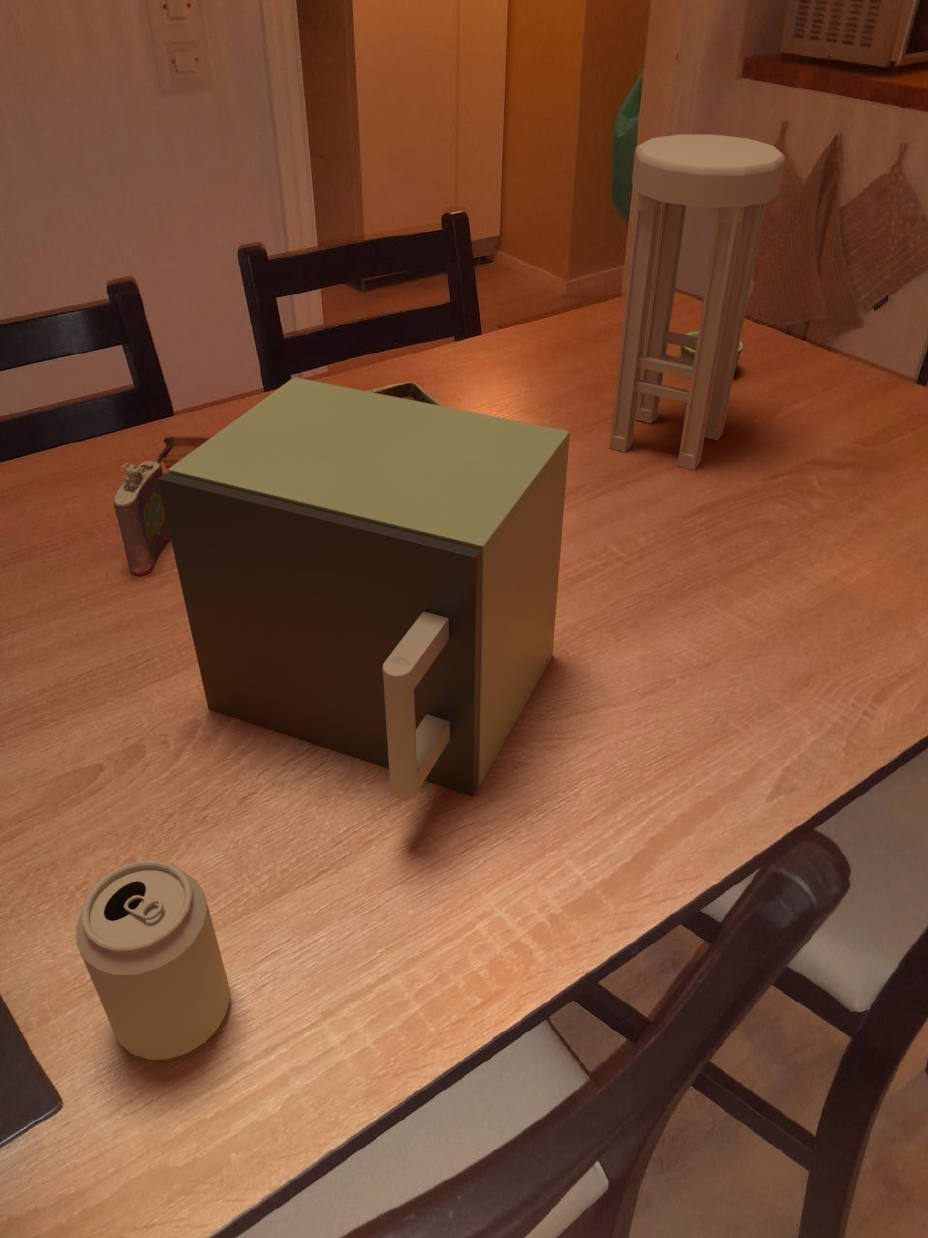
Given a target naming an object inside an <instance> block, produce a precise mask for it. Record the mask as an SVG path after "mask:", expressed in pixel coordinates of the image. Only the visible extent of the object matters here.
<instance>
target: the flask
mask: <svg viewBox="0 0 928 1238" xmlns="http://www.w3.org/2000/svg"><path fill="white" fill-rule="evenodd" d="M124 469H125V472H126V475H125V476H124V479H123V481H122V482H121V484H120V486H119V488H117V491H116V494H115V495H114V498H113V502H112V503H113V507H114V511H115V515H116V519H117V522H118V526H119V531H120V535H121V538H122V542H123V546H124V551H125V557H126V560H127V564H128V568H129V571H130V573H131V574H132V575H133V576H139V577H140V576H146V575H148V574H149V573H150V572H152V571H153V569H154V568H155V566H156V563H157V561H158V560H159V557H160V555H161V554H162V552H163V550H164V549H165V547H166V546H167V545H168V543H169V542H171V538H170V533H169V529H168V524H167V519H166V515H165V510H164V506H163V501H162V497H161V492H160V488H159V483H158V478H159V477H161V476H162V475H163V474H164V472H163V468H162V464H161V462H160V463H158V461H157V460H156V461H155V460H147V461H144V462H142V463H140V464H139V465H138V466H136V465H135V464H134V463H131V464H129V463H128V462H126V463H124V464H123V465H121V466H120V472H121V473H123V470H124Z"/></svg>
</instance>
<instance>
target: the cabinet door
mask: <svg viewBox="0 0 928 1238" xmlns="http://www.w3.org/2000/svg"><path fill="white" fill-rule="evenodd" d="M158 483H159V488H160V492H161V497H162V501H163V506H164V510H165V515H166V519H167V524H168V529H169V533H170V538H171V541H170V542H171V546H172V550H173V551H172V552H173V555H174V560H175V565H176V569H177V573H178V578H179V584H180V586H181V591H182V596H183V600H184V605H185V609H186V615H187V618H188V623H189V627H190V632H191V633H190V634H191V636H192V642H193V646H194V651H195V655H196V661H197V664H198V668H199V673H200V677H201V683H202V687H203V692H204V696H205V700H206V701H205V702H206V705H207V709H209V710H211V711H215V712H218V713H220V714H224V715H227V716H229V717H233V718H237V719H239V720H241V721H245V722H247V723H250V724H254V725H256V726H260V727H262V728H265V729H269V730H272V731H275V732H278V733H280V734H284V735H287V736H290V737H293V738H296V739H299V740H302V741H305V742H308V743H311V744H314V745H317V746H319V747H323V748H326V749H330V750H332V751H335V752H339V753H340V754H345V755H347V756H350V757H354V758H356V759H360V760H363V761H365V762H368V763H371V764H374V765H377V766H381V767H383V768H387V769H388V770H389V784H390V786H389V787H390V793H391V794H392V796H393V797H395V798H396V799H398V800H409V799H412V798H414V797H415V796H416V795H417V793H418V792H419V790H420V788H421V787H422V785H423V783H424V782H429V783H432V784H434V785H437V786H440V787H444V788H447V789H449V790H453V791H456V792H458V793H462V794H464V795H468V796H470V797H474V796H475V795H476V792H477V790H478V789H479V786H478V755H479V695H480V635H481V575H482V550H480V549H476V548H472V547H468V546H463V545H459V544H455V543H451V542H447V541H443V540H439V539H435V538H431V537H427V536H422V535H418V534H414V533H410V532H406V531H402V530H398V529H394V528H390V527H386V526H382V525H377V524H373V523H369V522H365V521H361V520H357V519H353V518H349V517H345V516H341V515H337V514H332V513H328V512H324V511H320V510H316V509H312V508H308V507H304V506H300V505H296V504H292V503H287V502H283V501H279V500H275V499H271V498H267V497H263V496H259V495H255V494H251V493H247V492H242V491H238V490H234V489H230V488H226V487H222V486H218V485H214V484H210V483H206V482H202V481H197V480H193V479H189V478H185V477H181V476H177V475H173V474H169V472H165V473H163V475H162V476H161V477H159V478H158Z"/></svg>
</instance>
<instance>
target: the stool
mask: <svg viewBox="0 0 928 1238" xmlns="http://www.w3.org/2000/svg"><path fill="white" fill-rule="evenodd" d="M785 164H786V157H785V155H784V154H783V153H782V152H781V151H780V150H779V149H777V147H776V146H774V145H772V144H769V143H766V142H762V141H758V140H754V139H751V138H748V137H747V138H745V137H739V136H731V135H729V136H728V135H723V134H722V135H720V134H687V133H685V134H683V133H682V134H680V133H679V134H673V135H666V136H658V137H652V138H650V139H648V140H646V141H645V142H643V143H640V144H639V145H638V146H637V147H636V148H635V150H634V157H633V166H632V167H633V168H632V176H631V184H632V185H633V188H634V190H635V192H636V199H635V200H636V201H635V207H634V208H635V209H634V217H633V227H632V236H631V245H630V254H629V264H628V272H627V282H626V291H625V300H624V309H623V318H622V326H621V327H622V328H621V337H620V346H619V357H618V365H617V373H616V382H615V383H616V385H615V391H614V392H615V393H614V401H613V411H612V421H611V429H610V439H609V449H611V450H615V451H618V450H619V452H622V453H627V451H628V450H629V449H630V448H631V447H632V446H631V445H633V440H634V432H635V424H636V420H639V421H638V422H640V421H644V422H647V423H646V424H648V423H650V424H649V425H652V424H653V423H654V422H655V421H656V420H657V419H658V414H659V408H660V402H661V401H660V399H661V398H664V399H668V400H672V401H676V402H680V403H684V404H686V409H685V415H684V421H683V426H682V433H681V440H680V447H679V453H678V459H677V467H680V468H684V469H688V470H692V471H695V470H696V469H697V467H698V466H699V465H700V463H701V461H702V460H701V459H702V454H703V449H704V442H705V439H706V438H707V439H709V440H714V441H718V440H719V439H720V437H721V436H722V435H723V434H724V430H725V429H724V428H725V424H726V418H727V414H728V407H729V403H730V397H731V392H732V386H733V381H734V376H735V373H734V370H735V365H736V360H737V354H738V349H739V344H740V341H741V338H742V334H743V333H742V332H743V328H744V322H745V318H746V317H745V316H746V312H747V306H748V299H749V295H750V290H751V284H752V278H753V273H754V269H755V262H756V258H757V253H758V252H757V251H758V246H759V243H760V242H759V241H760V237H761V232H762V231H761V230H762V227H763V226H762V225H763V220H764V215H765V211H766V204H767V203H770V202H771V200H773V199H774V198H775V197H777V195H779V194H780V191H781V185H782V180H783V174H784V169H785ZM687 206H688V207H693V208H717V213H716V219H715V225H714V232H713V236H712V237H713V238H712V244H711V250H710V256H709V257H710V258H709V262H708V269H707V275H706V277H707V278H706V282H705V287H704V294H703V300H702V307H701V313H700V319H699V327H698V331H699V332H698V337H694V336H689V335H685V334H683V333H679V332H675V331H670V328H671V322H672V315H673V314H672V313H673V306H674V299H675V294H676V293H675V292H676V285H677V278H678V270H679V265H680V256H681V250H682V242H683V236H684V230H685V229H684V228H685V221H686V213H687ZM668 345H674V346H679V347H680V346H684V347H688V348H693V349H696V351H695V357H694V360H689V359H685V358H680V356H675V355H670V354H667V349H668ZM735 371H736V370H735ZM664 374H666V375H671V376H675V377H679V378H680V377H681V378H683V379H684V378H685V379H689V380H690V383H689V389H688V390H687V389H683V388H679V387H674V386H670V385H667V384H666V385H665V384H663V378H664ZM653 421H654V422H653ZM644 422H643V423H644ZM652 422H653V423H652ZM651 423H652V424H651ZM630 446H631V447H630ZM629 447H630V448H629Z"/></svg>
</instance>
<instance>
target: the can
mask: <svg viewBox="0 0 928 1238" xmlns="http://www.w3.org/2000/svg"><path fill="white" fill-rule="evenodd" d="M76 923H77V924H76V926H75V935H76V936H75V938H76V942H75V943H76V946H77V948H78V951H79V953H80V956H81V958H82V960H83V963H84V965H85V966H86V970H87V973H88V975H89V977H90V979H91V981H92V984H93V986H94V988H95V991H96V993H97V996H98V998H99V1001H100V1003H101V1005H102V1008H103V1010H104V1013H105V1014H106V1017H107V1020H108V1022H109V1024H110V1026H111V1029H112V1031H113V1033H114V1036H115V1037H116V1039H117V1041H118V1043H119V1045H120V1046H121V1047H123V1048H124V1049H125V1050H126V1051H127V1052H128V1053H130V1054H131V1055H133V1056H136V1057H139V1058H143V1059H145V1060H149V1061H150V1060H151V1061H152V1060H153V1061H155V1060H157V1061H158V1060H159V1061H160V1060H170V1059H174V1058H178V1057H180V1056H184V1055H187V1054H188V1053H190V1052H192V1051H194V1050H195V1049H197V1048H198V1047H200V1046H201V1045H203V1044H204V1043H206V1042H207V1040H209V1039H210V1037H211V1036H212V1035H214V1033H215V1032H216V1031H217V1030H218V1029H219V1027H220V1026H221V1023H222V1022H223V1020H224V1018H225V1016H226V1015H227V1013H228V1009H229V1002H230V999H231V998H230V997H231V992H230V986H229V979H228V976H227V972H226V968H225V964H224V961H223V957H222V954H221V950H220V946H219V945H220V944H219V942H218V939H217V935H216V930H215V927H214V923H213V919H212V915H211V912H210V909H209V904H208V901H207V897H206V893H205V891H204V890H203V888H202V887H201V885H200V884H199V882H198V880H197V879H195V878H194V877H193V876H191V875H190V874H188V873H186V872H185V871H184V870H183V869H181V868H179V867H177V866H176V865H175V864H173V863H172V862H167V861H163V860H159V859H140V860H137V861H132V862H127V863H125V864H122V865H121V866H119V867H117V868H115V869H113V870H111V871H109V872H108V873H106V874H105V875H104V876H103V877H101V878H100V880H98V881H97V882H95V884H94V885H93V887H92V888H91V889H90V891H89V892H88V893H87V895H86V896H85V899H84V902H83V905H82V907H81V910H80V915H79V917H78V920H77V922H76Z"/></svg>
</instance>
